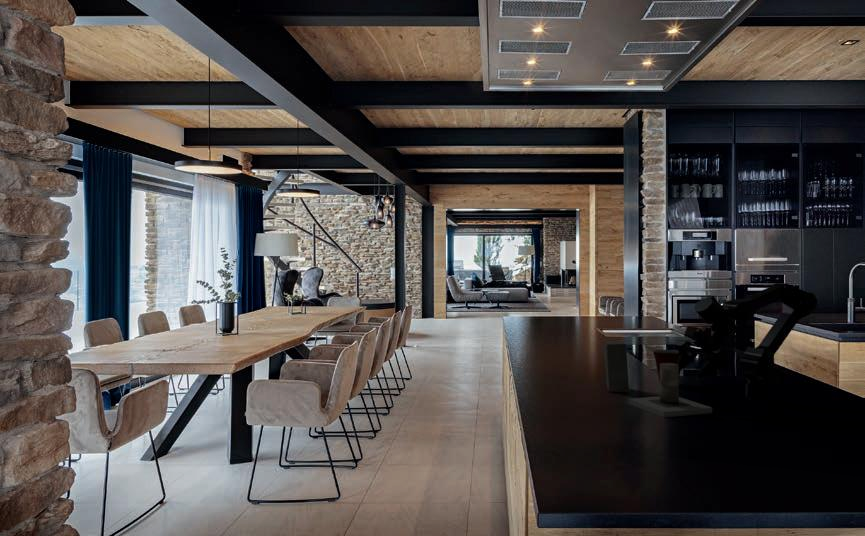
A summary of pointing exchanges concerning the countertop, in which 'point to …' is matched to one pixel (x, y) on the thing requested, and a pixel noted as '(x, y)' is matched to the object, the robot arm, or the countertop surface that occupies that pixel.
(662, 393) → the ash sleeve
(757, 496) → the countertop surface
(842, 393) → the countertop surface
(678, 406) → the sage board
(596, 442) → the countertop surface
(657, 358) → the plastic cup
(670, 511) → the countertop surface
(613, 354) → the skincare box
